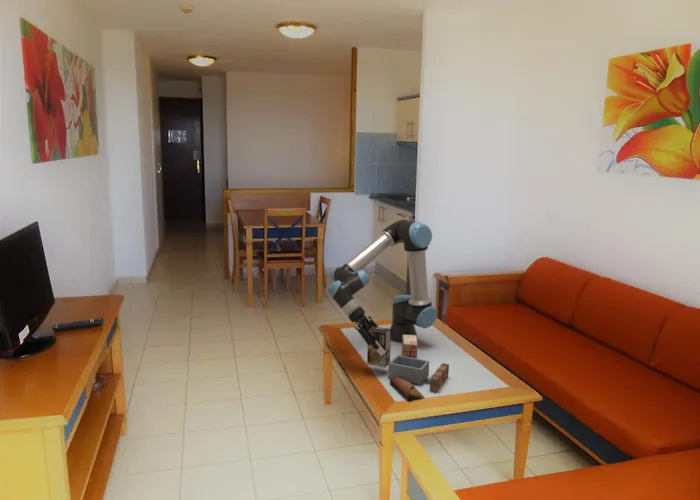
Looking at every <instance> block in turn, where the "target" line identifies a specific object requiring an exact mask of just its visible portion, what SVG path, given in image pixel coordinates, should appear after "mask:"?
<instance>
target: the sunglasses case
mask: <svg viewBox="0 0 700 500" xmlns="http://www.w3.org/2000/svg"><path fill="white" fill-rule="evenodd" d="M389 384H390V385H391V386H392V387H394V388H395V389H396V390H397V391H398V392H399V393H400V394H401V395H402V396H403V397H404V398H405V399H406V400H408V402H409V401H410V402H413V401H414V400H415V401H421V400H425V399H426V398H425V396H424V395H423V394H422V393H421V392H420V390H418V389H417V388H416V387H415V385H414V383H410V382H408V381H405V380H403V379H401V378H398V377H392V378H389Z"/></svg>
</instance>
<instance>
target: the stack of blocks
mask: <svg viewBox="0 0 700 500" xmlns="http://www.w3.org/2000/svg"><path fill="white" fill-rule="evenodd" d="M417 338H418V337H417ZM417 338H416V335H402V342H401V343H402V345H401V356H405V357H410V358H416V359H418V358H417V357H418V339H417Z"/></svg>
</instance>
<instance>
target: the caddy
mask: <svg viewBox="0 0 700 500" xmlns="http://www.w3.org/2000/svg"><path fill="white" fill-rule="evenodd" d="M387 368H388V369H387V378H388V379H391V378H392V377H398V378H401V379H403V380H405V381H408V382H409V383H411V384H415V385H422V384H424V383H423V382H424V380H425V379H428V377H429V376H430V375H429V372H430V360H425V359H420V358H417V359H416V358H410V357H405V356H402V355H399V354H397V355H396V356H395V357H394V358H393V359H390V362H389V363H388V366H387Z"/></svg>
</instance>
